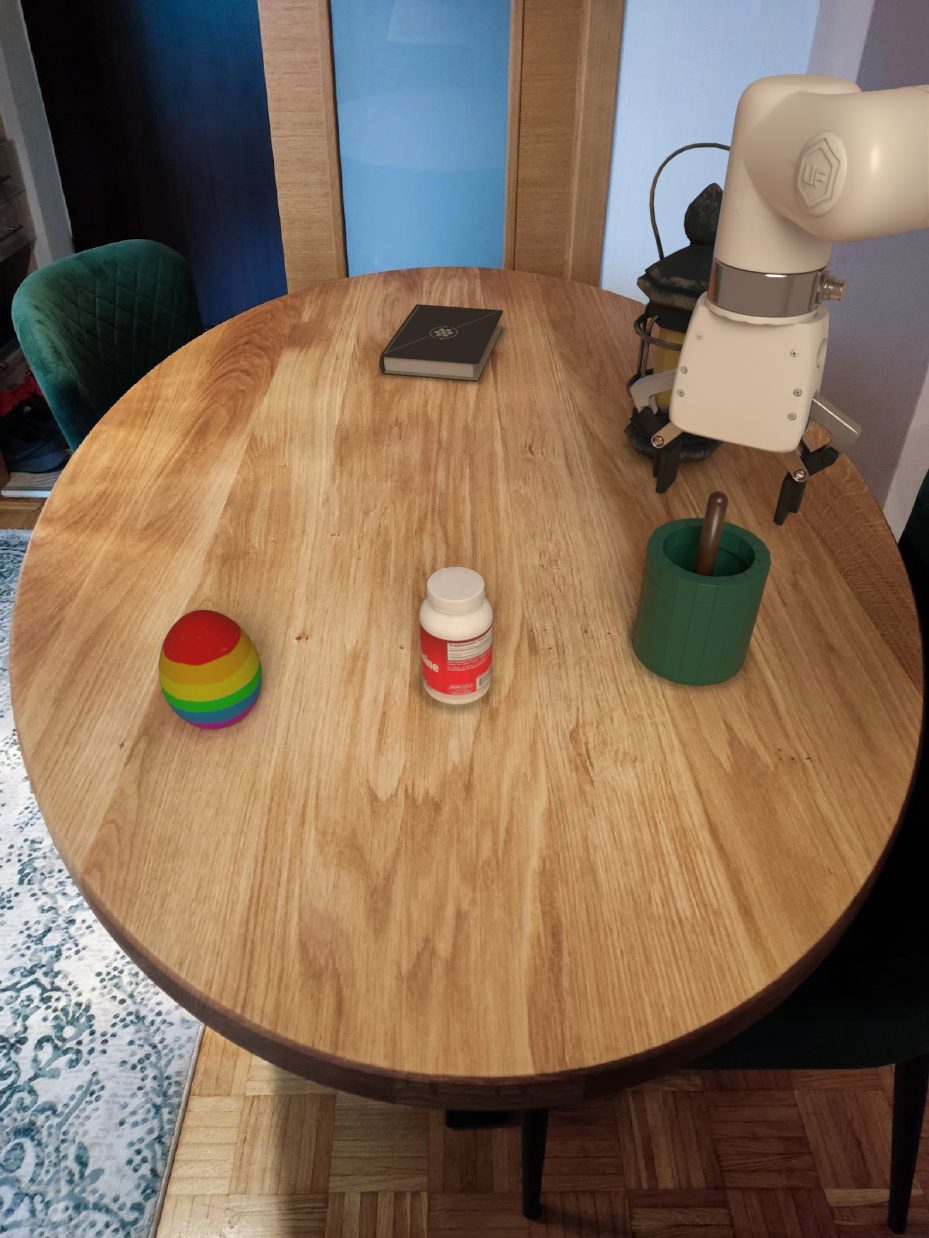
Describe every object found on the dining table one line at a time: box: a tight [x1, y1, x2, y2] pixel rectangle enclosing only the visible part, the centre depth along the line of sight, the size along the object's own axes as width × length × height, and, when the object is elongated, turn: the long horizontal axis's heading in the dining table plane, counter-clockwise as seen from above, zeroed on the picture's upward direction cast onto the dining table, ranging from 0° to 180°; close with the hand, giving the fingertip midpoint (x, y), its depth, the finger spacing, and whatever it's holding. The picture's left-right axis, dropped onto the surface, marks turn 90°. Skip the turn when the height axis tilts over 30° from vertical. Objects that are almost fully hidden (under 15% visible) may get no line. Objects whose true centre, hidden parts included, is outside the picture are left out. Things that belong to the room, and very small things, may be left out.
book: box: [378, 303, 504, 383], centre depth 136 cm, size 22×15×3 cm
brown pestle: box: [694, 490, 729, 577], centre depth 76 cm, size 4×4×16 cm
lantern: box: [623, 142, 731, 463], centre depth 101 cm, size 14×13×35 cm
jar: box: [632, 517, 772, 687], centre depth 78 cm, size 10×10×11 cm
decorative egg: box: [158, 609, 263, 730], centre depth 72 cm, size 8×8×10 cm
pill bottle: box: [418, 566, 494, 705], centre depth 74 cm, size 6×6×11 cm
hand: (722, 501), depth 71 cm, fingers open, 9 cm apart
